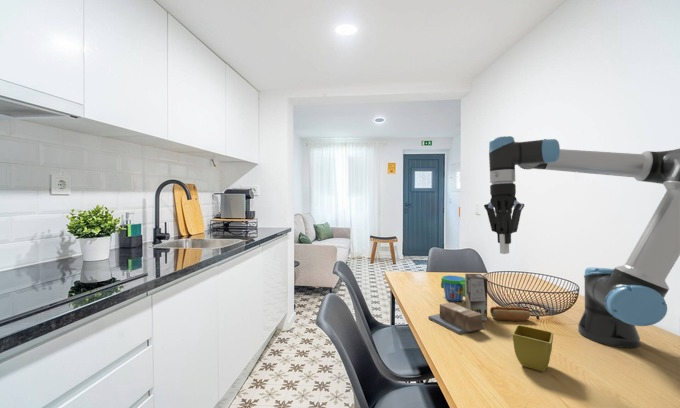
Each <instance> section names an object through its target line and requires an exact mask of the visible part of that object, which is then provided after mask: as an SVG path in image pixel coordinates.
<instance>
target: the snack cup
mask: <svg viewBox="0 0 680 408" xmlns="http://www.w3.org/2000/svg"><path fill="white" fill-rule="evenodd" d="M440 288H442V289H443V292H444V296H445V297H444V298H445V299H446V300H448V301H450V302H461V301H462V300H463V298H464V297H465V276H464V277H463V276H459V275H443V276H442V277H441V283H440Z"/></svg>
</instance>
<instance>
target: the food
mask: <svg viewBox="0 0 680 408" xmlns="http://www.w3.org/2000/svg"><path fill="white" fill-rule="evenodd" d="M489 312H490V315H491V317H492V318H493V319H495V320H499V321H508V320H509V321H508V322H513V321H514V322H522V321H528V320H529V319H530V317H531V313H530V309H529V308H525V307H523V308H522V307H520V306H518V307H516V306H510V307H509V306H492V307H490V310H489Z"/></svg>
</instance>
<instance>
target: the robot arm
mask: <svg viewBox="0 0 680 408" xmlns="http://www.w3.org/2000/svg"><path fill="white" fill-rule="evenodd" d="M488 145H489V147H488V149H489V150H488V160H489V183H490V185H489V188H490V189H489V191H490V196H491V197H490V200H489V202H488V203H485V204H484V205H483V207H484V209H485V210H486V213H487V218H488V220H489V221H488V222H489V224H490V225H489V227H490V229H491V232H494V233H496V234H497V243H498V244H499V254H500V255H501V254H502V255H505V254H506V255H507V254H510V245H511V244H512V234H513V233H517V231H518V229H519V225H520V219H521V214H522V210H523V209H524V207H525V204H524V203H521V202H519V201H518V200H517V198H516V192H517V190H516V188H517V186H516V166H518V167H519V168H521V169H523V170H532V169H533V170H547V171H557V172H559V171H560V172H567V173H568V172H569V173H581V174H592V175H593V174H594V175H603V176H604V175H605V176H614V177H615V176H616V177H624V178H625V177H626V178H634V179H635V180H636V181H637V182H645V183H653V184H661V185H663V186H664V187H665V189H666V192H665V193H664V195H663V197H662V199H661V201H660V202H659V204H658V206H657V207H656V209H655V211H654V213H653V214H652V216H651V218H650V219H649V221H648V224H647V225H646V226H645V228H644V230H643V231H642V234H641V235H640V237H639V238H638V241H637V243H636V244H635V246H634V248H633V250H632V251H631V253H630V255H629V257H628V258H627V260H626V262H625V263H624V264H623V265H619V266H616V267H614V268H606V267H586V268H585V269H584V275H583V278H584V311H583V313H582V316H581V317H580V320H579V322H578V329H577V331H578V333H579V334H580V335H582V336H583V337H585V338H587V339H589V340H591V341H594V342H597V343H599V344H603V345H608V346H613V347H618V348H619V347H620V348H625V349H626V348H628V349H629V348H637V347H639V346H640V345H641V342H640V341H641V338H640V335H639V333H638V330H637V328H636V327H648V326H652V325H656V324H658V323H660V322H661V321H662V320H663V319H664V318H665V317H666V315H667V312H668V304H667V302H666V300H665V297H666V295H667V293H668V292H669V290H670V287H669V286H668V283H667V282H666V279H667V277H668V276H669V274H670V273H671V270H672V269H673V267H674V266H675V265H676V262H677V261H678V259H679V257H680V148H676V149H672V150H663V151H653V150H652V151H650V150H649V151H648V150H647V151H643V152H641V153H630V152H629V153H628V152H611V151H597V150H594V151H593V150H580V149H579V150H578V149H565V148H564V149H562V148H560V143H559V141H558V139H555V138H553V139H552V138H548V139H547V138H544V139H536V140H527V141H515V137H513V136H508V135H507V136H497V137H495V138H492V139H490V140H489V144H488Z"/></svg>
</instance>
